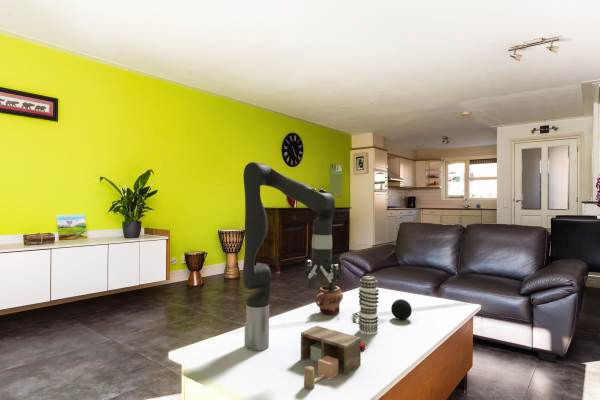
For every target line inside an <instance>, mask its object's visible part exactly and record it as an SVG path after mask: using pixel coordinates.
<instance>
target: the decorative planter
mask: <svg viewBox="0 0 600 400" xmlns="http://www.w3.org/2000/svg"><path fill="white" fill-rule="evenodd" d="M328 287H329V285H326V286H322V287H320V288H319V290H318V293H317V294H316V296H315V300H314V301H315V304H316V306H317V307H318V308H319V311H320V313H321V314H323V315H326V316H335V315H337V314H339V313H340V304H341V302H342V300H343V298H344V294H343V293H342V290H341V288H340V287H339V286H337V285H334V291H333V292H332V293H329V292H328Z"/></svg>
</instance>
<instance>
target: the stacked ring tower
mask: <svg viewBox="0 0 600 400" xmlns="http://www.w3.org/2000/svg"><path fill="white" fill-rule="evenodd" d="M359 281H360V286H359V289H358V291H359V292H358V295H359V296H358V299H359V300H358V302H359V307H360V311H359V316H358V317H359V319H358V321H359V322H358V324H359V326H358V328H359V329H358V331H359V332H360V333H361V334H364V335H371V336H372V335H377V334H378V332H379V331H378V329H379V328H378V327H379V324H378V322H379V321H378V319H379V317H378V307H379V305H378V303H379V297H378V296H379V295H380V293H379V291H380V289H378V279H376V278H375V276H372V275H364V276H362V277H361V279H359Z"/></svg>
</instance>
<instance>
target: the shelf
mask: <svg viewBox="0 0 600 400" xmlns="http://www.w3.org/2000/svg"><path fill="white" fill-rule="evenodd" d="M361 339H362V337H360V336H356V335H353V334H348V333H345V332H342V331H337V330H334V329H330V328H327V327H322V326H319V325H315V326H313V327H310V328H308V329H306V330H304V331H301V332H300V360H302V361H303V360H305V359H307V358H308V357H310V356H311V346H312V345H313V344H315V343H317V342H320V343H321V358H323V357H325V356H326V355H327V356H330V357H333V358H336V359H338V361H343V375H345V376H347V375H349V374H350V373H351V372H353V371H354V370H356V369H357V368H358V367H360V366H361V361H362V360H361V356H362V355H361V353H362V351H361V342H362V340H361Z"/></svg>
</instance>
